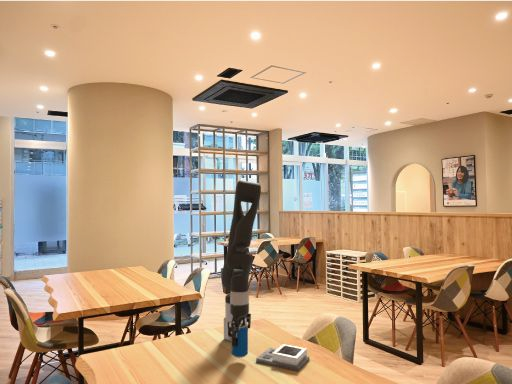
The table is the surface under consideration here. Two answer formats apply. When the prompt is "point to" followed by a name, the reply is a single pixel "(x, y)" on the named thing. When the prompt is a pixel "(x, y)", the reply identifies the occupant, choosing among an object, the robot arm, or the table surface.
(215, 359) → the table surface
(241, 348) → the beverage can
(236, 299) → the robot arm
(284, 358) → the grey and white device
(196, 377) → the table surface
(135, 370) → the table surface
